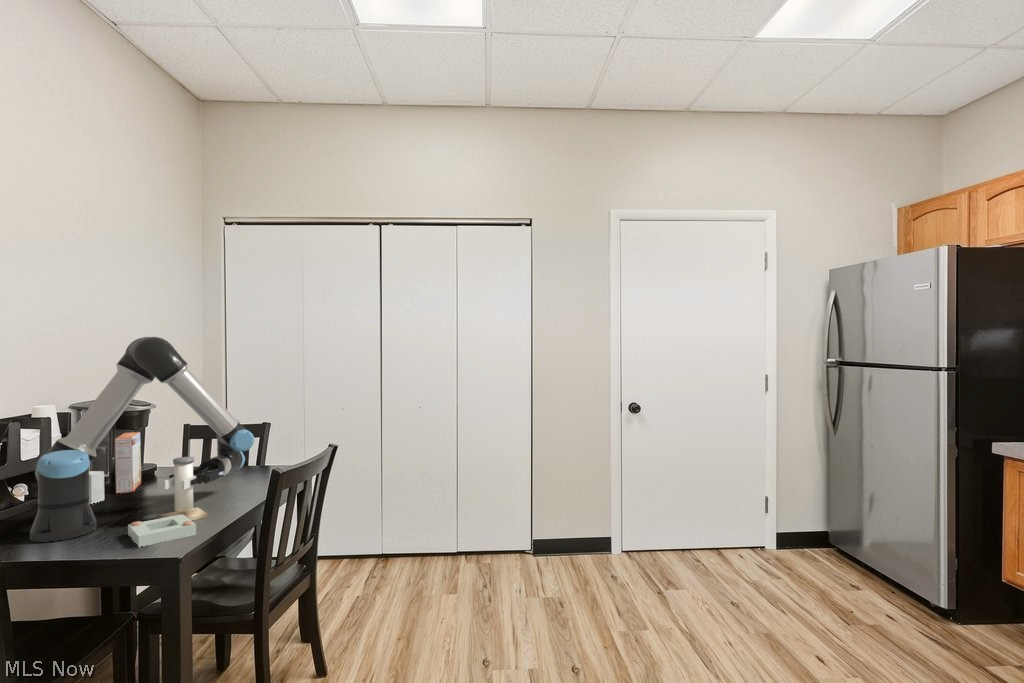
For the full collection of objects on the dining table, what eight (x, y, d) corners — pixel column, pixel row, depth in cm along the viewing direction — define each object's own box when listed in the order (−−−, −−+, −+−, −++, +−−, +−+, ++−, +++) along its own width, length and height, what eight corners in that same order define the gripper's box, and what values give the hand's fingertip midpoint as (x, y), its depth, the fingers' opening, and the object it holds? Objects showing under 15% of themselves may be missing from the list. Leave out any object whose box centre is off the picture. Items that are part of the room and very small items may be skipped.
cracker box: (123, 485, 218) (123, 432, 218) (141, 484, 220) (141, 431, 221) (114, 494, 205) (114, 437, 205) (133, 492, 208) (133, 436, 208)
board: (168, 525, 169) (168, 522, 169) (159, 517, 177) (159, 514, 177) (207, 517, 176) (207, 514, 176) (197, 510, 184) (197, 507, 184)
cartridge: (176, 512, 172) (175, 461, 173) (171, 508, 177) (170, 458, 177) (196, 508, 177) (196, 458, 177) (191, 504, 181) (191, 455, 181)
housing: (138, 547, 150) (138, 534, 150) (128, 535, 160) (128, 522, 160) (196, 534, 160) (196, 522, 160) (182, 523, 170) (182, 512, 170)
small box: (104, 500, 197) (104, 471, 197) (91, 505, 191) (91, 474, 191) (84, 500, 198) (84, 470, 198) (70, 504, 192) (70, 474, 192)
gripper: (240, 478, 195) (202, 497, 171) (188, 479, 195) (144, 497, 171) (240, 457, 195) (202, 472, 171) (188, 457, 195) (144, 473, 171)
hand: (173, 485), depth 171 cm, fingers closed on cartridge, 5 cm apart
